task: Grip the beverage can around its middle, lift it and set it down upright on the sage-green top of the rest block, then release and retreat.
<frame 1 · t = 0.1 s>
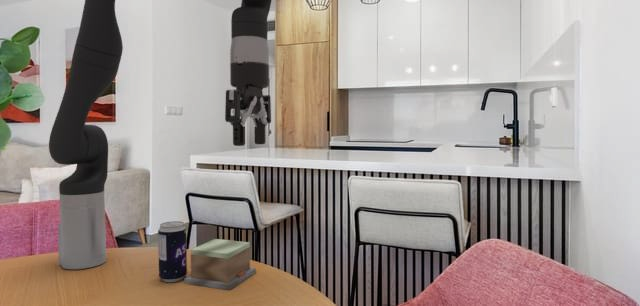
hand: (250, 144, 81), 29 cm above the table, fingers open, 8 cm apart
beverage can: (173, 279, 88), on the table
rest block: (221, 277, 88), on the table
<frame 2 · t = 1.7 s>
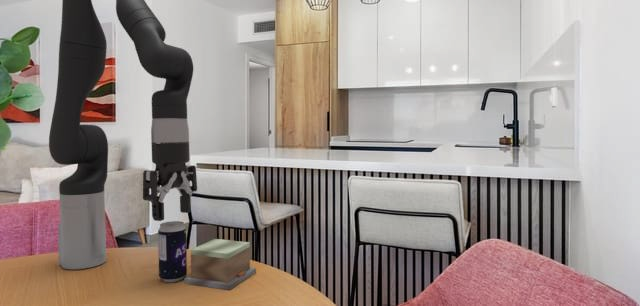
hand: (172, 216, 87), 14 cm above the table, fingers open, 8 cm apart
nothing on the table moved.
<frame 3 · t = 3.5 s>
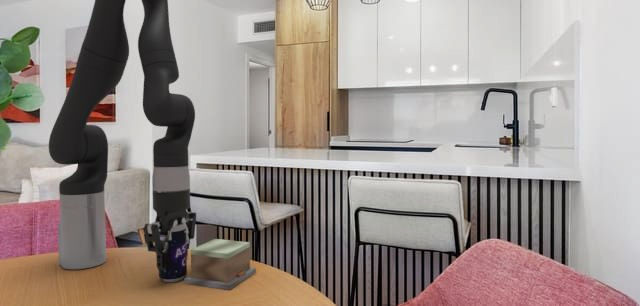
hand: (172, 264, 88), 3 cm above the table, fingers closed on beverage can, 5 cm apart
beverage can: (173, 279, 88), on the table, touching gripper
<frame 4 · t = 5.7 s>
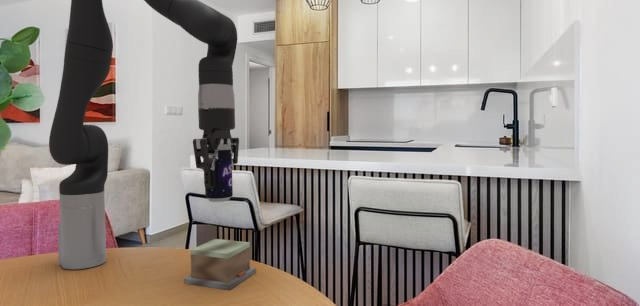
hand: (218, 186, 87), 20 cm above the table, fingers closed on beverage can, 5 cm apart
beverage can: (219, 201, 87), point 17 cm above the table, touching gripper
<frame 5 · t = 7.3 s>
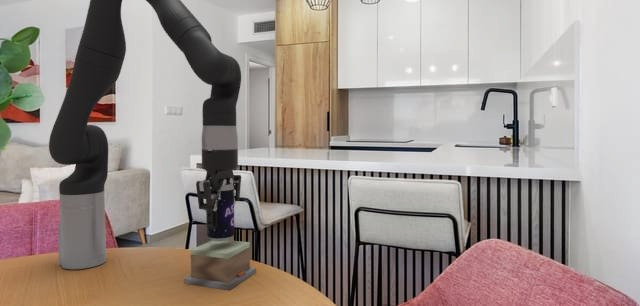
hand: (220, 225, 88), 12 cm above the table, fingers closed on beverage can, 5 cm apart
beverage can: (221, 239, 88), point 8 cm above the table, touching gripper
when the fingers open (11 cm above the table, at t = 8.2 s): beverage can drops 1 cm, resting on rest block.
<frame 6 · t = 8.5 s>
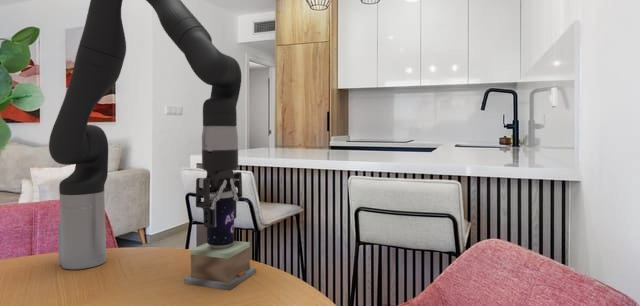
hand: (220, 222, 88), 12 cm above the table, fingers open, 8 cm apart
beverage can: (220, 246, 88), point 7 cm above the table, touching rest block
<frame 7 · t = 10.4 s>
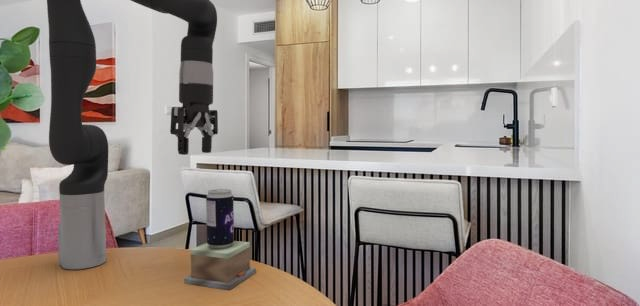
hand: (195, 153, 94), 27 cm above the table, fingers open, 8 cm apart
nothing on the table moved.
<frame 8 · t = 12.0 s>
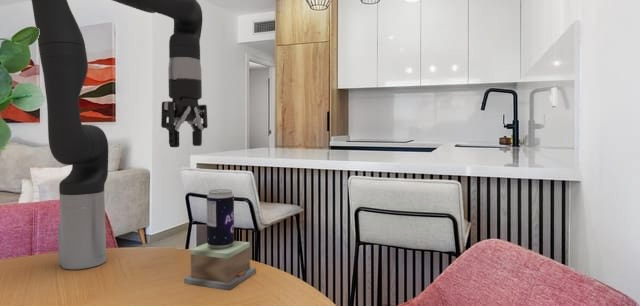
hand: (186, 146, 98), 28 cm above the table, fingers open, 8 cm apart
nothing on the table moved.
at the end: beverage can inside the target area on the rest block (0.1 cm from its centre), point 6.8 cm above the rest block's base; beverage can tilted 1°; beverage can touching rest block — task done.
